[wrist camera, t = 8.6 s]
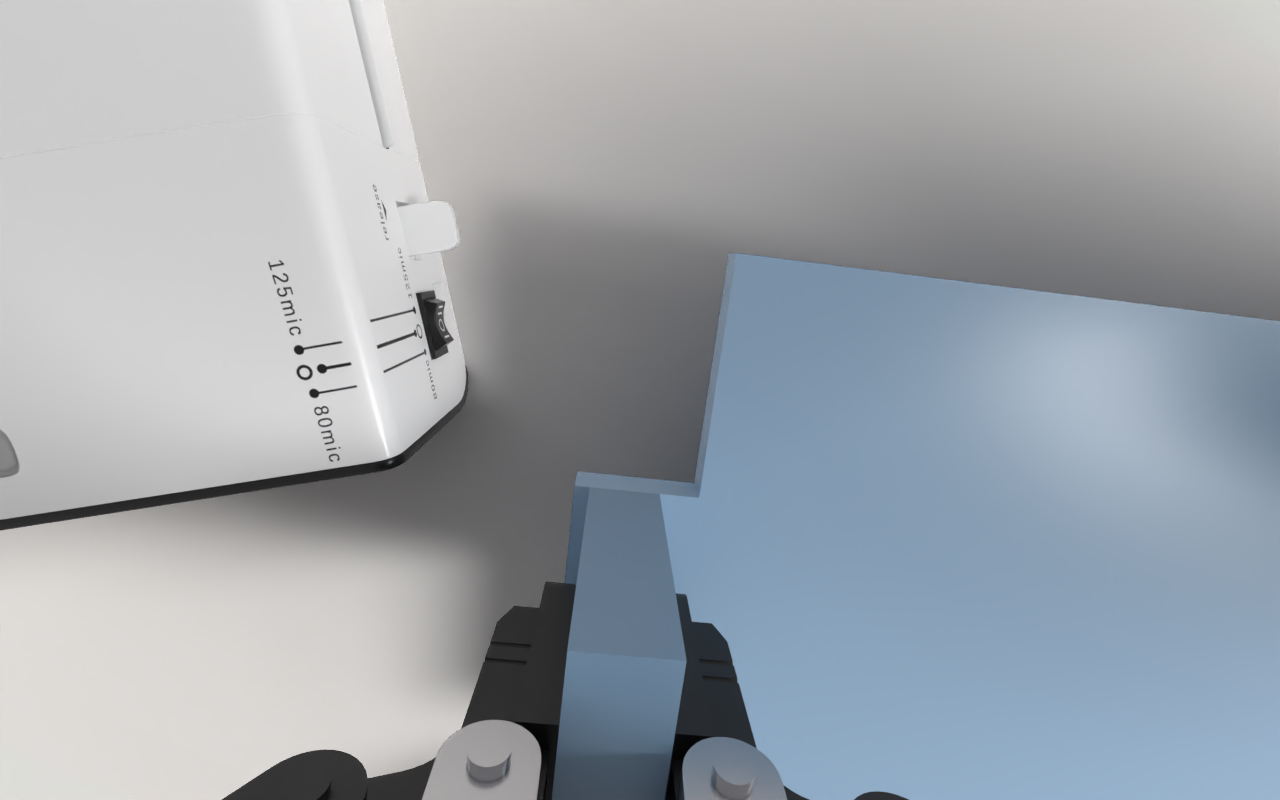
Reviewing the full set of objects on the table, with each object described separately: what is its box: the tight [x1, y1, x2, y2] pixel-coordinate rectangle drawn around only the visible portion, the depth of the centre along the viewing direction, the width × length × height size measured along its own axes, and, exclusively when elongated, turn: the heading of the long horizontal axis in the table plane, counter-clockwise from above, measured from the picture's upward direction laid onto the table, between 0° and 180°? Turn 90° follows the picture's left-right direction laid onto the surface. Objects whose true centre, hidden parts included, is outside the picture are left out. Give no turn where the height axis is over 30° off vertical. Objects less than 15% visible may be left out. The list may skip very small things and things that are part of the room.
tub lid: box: [552, 253, 1280, 800], centre depth 11 cm, size 15×21×7 cm
